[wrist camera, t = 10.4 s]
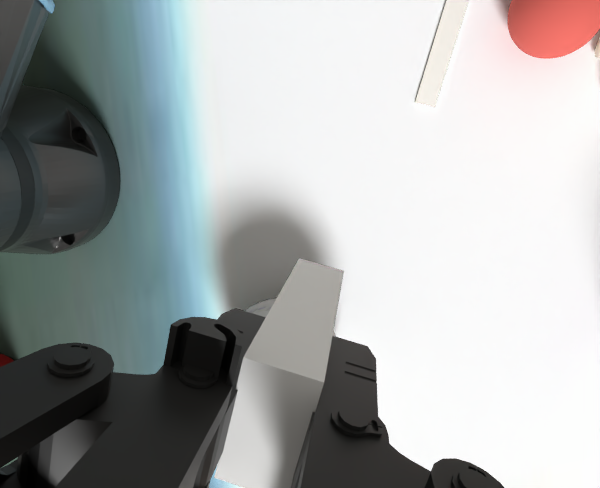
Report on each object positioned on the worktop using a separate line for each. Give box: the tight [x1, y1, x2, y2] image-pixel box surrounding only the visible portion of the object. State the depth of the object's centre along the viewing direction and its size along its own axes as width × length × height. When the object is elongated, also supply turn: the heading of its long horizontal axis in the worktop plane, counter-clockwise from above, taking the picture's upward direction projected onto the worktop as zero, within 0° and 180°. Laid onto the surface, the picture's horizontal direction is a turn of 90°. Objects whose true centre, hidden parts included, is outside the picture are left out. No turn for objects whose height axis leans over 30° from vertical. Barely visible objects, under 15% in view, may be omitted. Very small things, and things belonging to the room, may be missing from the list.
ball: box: [508, 0, 600, 58], centre depth 29 cm, size 6×6×6 cm
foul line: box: [415, 0, 469, 107], centre depth 33 cm, size 2×14×1 cm, turn 166°
